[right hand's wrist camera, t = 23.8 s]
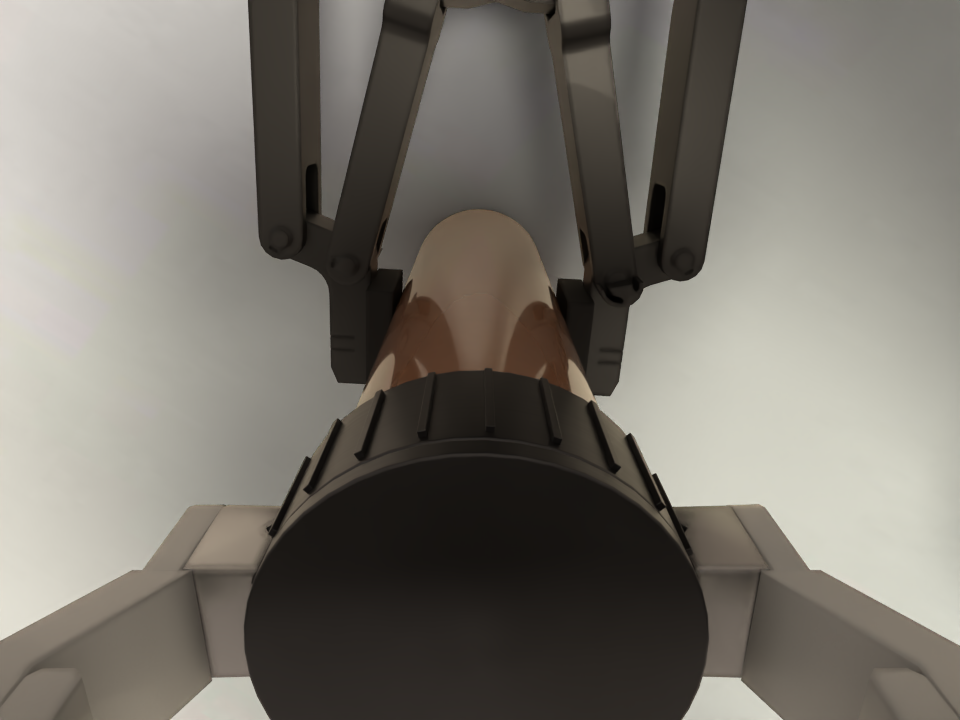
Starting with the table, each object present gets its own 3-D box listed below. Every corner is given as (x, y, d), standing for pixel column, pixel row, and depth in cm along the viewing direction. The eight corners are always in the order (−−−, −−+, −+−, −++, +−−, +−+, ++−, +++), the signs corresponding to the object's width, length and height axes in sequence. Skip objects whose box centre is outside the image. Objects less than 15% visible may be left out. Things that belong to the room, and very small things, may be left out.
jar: (427, 197, 26) (310, 414, 8) (553, 222, 26) (713, 485, 8) (407, 318, 28) (273, 721, 10) (525, 341, 28) (608, 768, 10)
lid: (703, 624, 11) (761, 759, 9) (379, 715, 12) (355, 862, 10) (603, 307, 9) (644, 376, 7) (222, 440, 10) (145, 541, 8)
